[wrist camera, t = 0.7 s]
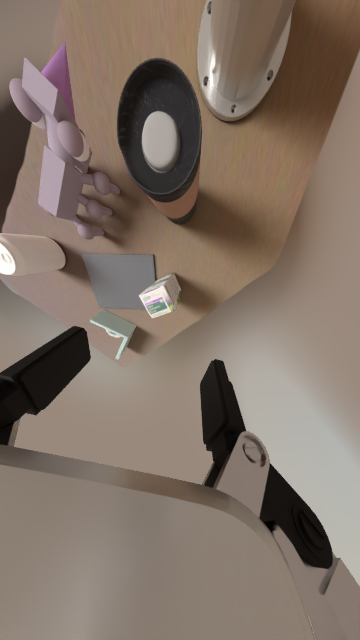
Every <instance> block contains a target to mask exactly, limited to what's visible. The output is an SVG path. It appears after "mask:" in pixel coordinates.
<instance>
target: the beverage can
mask: <svg viewBox="0 0 360 640" xmlns="http://www.w3.org/2000/svg"><path fill="white" fill-rule="evenodd" d="M64 265H65V255H64V253H63V251H62V249H61V248H60V246H59V245H58V244H57V243H56V242H55V241H53V240H52V239H50V238H48V237H44V236H31V235H17V234H3V233H0V273H2V274H6V275H14V276H20V275H26V274H33V273H39V272H45V271H51V270H57V269H61V268H63V267H64Z"/></svg>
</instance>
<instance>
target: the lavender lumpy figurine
mask: <svg viewBox="0 0 360 640" xmlns="http://www.w3.org/2000/svg"><path fill="white" fill-rule="evenodd" d="M10 93H11V96H12V98H13V101H14V103H15V104H16V106H17V108H18V109H19V110H20V111H21V113H22V114H23V115H24V116H25V117H26V118H27V119H28V120H29V121H31V122H32V123H33V124H35V125H36V126H37V127H39V128H41V129H43V130H47V135H48V145H49V148H48V147H47V146H45V145H44V153H43V162H42V172H41V181H40V191H39V200H38V204H39V205H40V206H42V207H43V209H44V210H45V211H46V212H47V213H48V214H50V215H52V216H55V217H58V218H63V219H67V220H71V221H72V222H73V223H74V224H75V225H76V226H77V227H78V228H77V229H78V232H79V234H80V235H81V236H82V237H83V238H85V239H92V238H93V237H94V236H103V235H104V232H103V230H102V229H93V228H92V227H91V226H90V225H89V224H87V223H82V222H81V221H80V220H79V219H78V217H77V216H76V213H77V208H78V204H79V202H80V203H81V204H82V205H84V206H85V207H86V210H87V212H88V214H89V215H90V216H91V217H93V218H95V219H100V218H101V217H102V216H103V214H104V215H109V216H111V215H112V210H111V209H110V208H106V207H103V206H101V205H100V204H99V203H98V202H97V201H96V200H93V199H89V200H88V199H87V198H85V197H84V196H83V195H81V192H82V187H83V184H87V185H92V186H94V187H95V189H96V190H97V191H98V192H99V193H100V194H102V195H108V194H109V193H110V192H112V193H114V194H116V195H119V194H120V189H119V188H118V187H117V186H115V185H113V184H112V183H110V181H109V179H108V177H107V176H106V175H105V174H104V173H102V172H95V173H94V174H93V175H89V174H86V173H87V172H88V166H89V162H90V159H91V155H92V152H91V150H90V148H89V146H88V143H87V141H86V139H85V136H84V133H83V132H82V131H81V130H80V129H79V128H78V126H77V124H76V122H75V114H74V107H73V100H72V92H71V85H70V77H69V70H68V62H67V55H66V47H65V42H64V44H63V45H62V46H61V47H60V49H59V50H58V51H57V53H56V54H55V55H54V56H53V58H52V59H51V60H50V61H49V63H48V64H47V65H46V67H45V68H44V69H43V71H42V72H41V73H40V72H39V71H38V70H37V69H36V68H35V67H34V66H33V65H32V64H31V63H30V62H29V61H28V60H27V59H26V58H24V68H23V79H22V80H21V79H18V78H14V79H12V80H11V82H10ZM74 165H75V166H76V167H77V168H79V169H80V170H81V171H82V172H83V173H81V172H80V171H79V170H78V169H77V168H75V167H74Z"/></svg>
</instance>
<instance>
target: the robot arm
mask: <svg viewBox="0 0 360 640" xmlns="http://www.w3.org/2000/svg"><path fill="white" fill-rule="evenodd" d="M295 2H296V0H207V1H206V4H205V8H204V11H203V15H202V19H201V24H200V30H199V38H198V49H197V68H198V79H199V85H200V90H201V93H202V96H203V99H204V101H205V103H206V105H207V107H208V109H209V110H210V111H211V112H212V113H213V115H215V116H216V117H217V118H219V119H221V120H224V121H236V120H239V119H242V118H243V117H245V116H247V115H248V114H249V113H251V112H252V111H253V110H254V109H255V108H256V107H257V106H258V105H259V103H260V102H261V101H262V100H263V98H264V97H265V95H266V93H267V92H268V90H269V89H270V87H271V85H272V83H273V81H274V79H275V77H276V74H277V72H278V70H279V67H280V65H281V63H282V59H283V56H284V53H285V50H286V47H287V42H288V37H289V33H290V26H291V17H292V10H293V7H294V5H295ZM205 85H207V86H205ZM232 112H234V113H232ZM90 358H91V356H90V350H89V343H88V337H87V332H86V331H85V329H84V328H81V327H77V326H73V327H71V328H70V329H68V330H67V331H65V332H64V333H62V334H60V335H59V336H57V337H56V338H54V339H53V340H51V341H49V342H48V343H46V344H45V345H43V346H42V347H40V348H38V349H37V350H35V351H34V352H32V353H31V354H29V355H27V356H26V357H24V358H23V359H21V360H20V361H18V362H16V363H15V364H13V365H12V366H10V367H9V368H7V369H5V370H4V371H2V372H1V373H0V640H360V587H359V585H358V584H357V582H356V581H355V579H354V578H353V576H352V575H351V573H350V572H349V570H348V569H347V568H346V566H345V564H344V563H343V562H342V560H341V559H340V558H336V557H335V555H334V554H333V552H332V548H331V545H330V542H329V539H328V536H327V534H326V532H325V530H324V528H323V526H322V524H321V523H320V521H319V519H318V518H317V516H316V515H315V514H314V512H313V511H312V510H311V509H310V507H309V506H308V505H307V504H306V503H305V502H304V501H303V500H302V498H301V497H300V496H299V495H298V494H297V493H296V492H295V491H294V489H293V488H292V487H291V486H290V485H289V484H288V483H287V482H286V480H285V479H284V478H283V477H282V476H281V475H280V474H279V473H278V471H277V470H276V469H275V468H274V467H273V466H272V465H271V464H270V460H269V456H268V453H267V451H266V448H265V446H264V445H263V443H262V442H261V441H260V439H259V438H258V437H257V436H255V435H254V434H253V433H250V432H247V431H246V429H245V426H244V422H243V419H242V416H241V412H240V409H239V405H238V402H237V399H236V395H235V392H234V389H233V385H232V383H231V382H230V381H229V380H228V376H227V373H226V369H225V365H224V362H223V361H220V360H217V359H215V360H214V361H211V363H210V365H209V367H208V369H207V371H206V373H205V375H204V377H203V379H202V381H201V383H200V394H201V411H202V427H203V442H204V444H206V449H207V451H212V455H213V461H214V462H213V464H212V466H211V468H210V470H209V472H208V474H207V476H206V477H205V479H204V481H203V483H202V485H200V484H195V483H191V482H186V481H182V480H178V479H173V478H169V477H164V476H159V475H154V474H149V473H144V472H139V471H134V470H129V469H124V468H119V467H114V466H109V465H104V464H99V463H94V462H89V461H84V460H79V459H73V458H68V457H63V456H58V455H53V454H47V453H42V452H37V451H32V450H26V449H21V448H16V447H14V443H15V439H16V435H17V431H18V427H19V422H20V418H21V417H22V416H23V415H24V414H25V413H28V414H33V415H37V414H38V413H39V412H40V411H41V410H43V409H45V408H46V407H47V406H48V405H49V404H50V403H51V402H52V401H53V400H54V399H55V398H56V396H57V395H58V394H59V393H60V392H61V391H62V390H63V389H64V388H65V387H66V386H67V385H68V384H69V382H70V381H71V380H72V379H73V378H74V377H75V376H76V375H77V374H78V373H79V372H80V371H81V370H82V368H83V367H84V366H85V365H86V364H87V363H88V362H89V361H90ZM305 609H306V610H305ZM306 612H307V613H306ZM307 614H308V615H307ZM308 616H309V618H308ZM309 619H310V621H311V624H312V627H311V624H310V621H309ZM312 628H313V630H312ZM313 631H314V633H313ZM314 635H315V636H314ZM315 638H316V639H315Z"/></svg>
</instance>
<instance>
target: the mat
mask: <svg viewBox="0 0 360 640" xmlns="http://www.w3.org/2000/svg"><path fill="white" fill-rule="evenodd" d="M81 255H82V258H83V261H84V264H85V267H86V269H87V272H88V275H89V278H90V281H91V284H92V287H93V290H94V293H95V296H96V299H97V302H98V305H99V308H122V309H146V308H145V306H144V304H143V302H142V301H141V299H140V297H139V295H140V294H141V293H142V292H143V291H145V290H146V289H147V288H148V287H149V286H151V285H152V284H153V283H154V282H155V281H156V280H155V268H154V257H153V255H140V254H81Z"/></svg>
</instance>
